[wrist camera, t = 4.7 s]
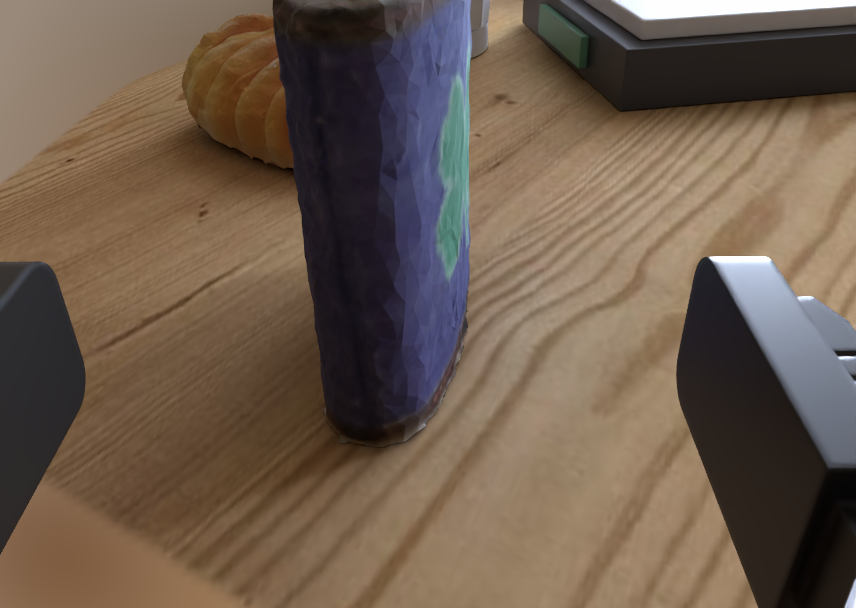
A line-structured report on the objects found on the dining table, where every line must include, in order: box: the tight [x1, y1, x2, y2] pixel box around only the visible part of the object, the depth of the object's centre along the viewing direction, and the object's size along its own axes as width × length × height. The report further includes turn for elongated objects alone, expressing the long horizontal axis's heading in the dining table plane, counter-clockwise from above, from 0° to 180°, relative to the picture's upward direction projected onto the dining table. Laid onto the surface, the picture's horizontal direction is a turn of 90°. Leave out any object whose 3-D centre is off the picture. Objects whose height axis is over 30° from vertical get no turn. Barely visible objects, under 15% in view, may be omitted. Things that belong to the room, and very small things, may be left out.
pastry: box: [182, 14, 294, 169], centre depth 30 cm, size 9×7×4 cm
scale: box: [523, 0, 856, 111], centre depth 39 cm, size 14×14×3 cm
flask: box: [273, 0, 472, 447], centre depth 17 cm, size 9×3×11 cm, turn 171°
